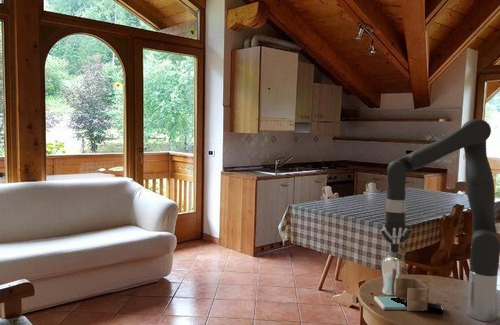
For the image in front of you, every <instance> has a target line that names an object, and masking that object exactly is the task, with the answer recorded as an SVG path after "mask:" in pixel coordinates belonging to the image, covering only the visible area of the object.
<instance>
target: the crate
mask: <svg viewBox="0 0 500 325" xmlns="http://www.w3.org/2000/svg"><path fill="white" fill-rule="evenodd" d="M429 290H430V289H429V288H428V287H426V285H424V284H423V283H422V282H420V281H419V280H418V279H416V278H414V277H404V278H403V277H398V278H396V283H395V295H394V297H397V298H400V299H405V300H407V307H406V311H407V312H425V311H426V310H427V311H428V308H429V306H428V305H429V292H430V291H429ZM424 310H425V311H424ZM427 311H426V312H427Z"/></svg>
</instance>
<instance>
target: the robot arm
mask: <svg viewBox="0 0 500 325" xmlns="http://www.w3.org/2000/svg"><path fill="white" fill-rule="evenodd" d="M491 134H492V129H491V125H490V124H489V122H487V121H486V120H483V119H481V118H474V119H469V120H468V121H466V122H465V123H464V124H463V125H462V126H461V128H459V129H458V130H456V131H455V132H453V133H452V134H449V135H448V136H446V137H443V138H441V139H438V140H436V141H434V142H431V143H428V144H427V145H426V144H425V145H423V146H422V147H420V148H418V149H416V150H414V151H412V152H410V153H409V154H406V155H404V156H402V157H399V158H397V159H395V160H393V161H391V162H390V163H389V164H388V165H387V171H386V172H387V173H386V174H387V187H386V188H387V189H386V200H385V201H386V202H385V224H384V225H383V228H382V229H379V230H378V232H379V233H380V235H381V236H382V237H383V239H385V241H386V242H388V243H389V244H390V251H391V253H393V254H397V253H398V252H399V250H400V244H401V243H405V241H406V239H407V238H408V237H409V236H410V234H411V233H412V230H410V229H409V228H407V225H406V216H407V215H406V213H407V212H406V210H407V206H406V205H407V204H406V179H407V174H409V173H411V172H413V171H414V170H419V169H421V168H423V167H426V166H428V165H430V164H433V163H434V162H437V160H440V159H442V158H443V157H445V156H447V155H448V156H449V155H450V154H452V153H455V152H456V151H459V150H461V149H463V150H464V155H465V185H466V186H465V187H466V194H467V200H468V203H469V204H468V205H469V207H470V208H469V209H470V212H471V216H472V233H471V234H472V235H471V244H470V245H471V246H470V247H471V248H470V259H469V261H470V262H469V275H468V290H467V294H468V295H467V305H466V306H467V309H466V314H467V315H468V316H469V317H470V318H473V319H475V320H477V321H483V322H493V321H495V320H497V319H498V312H499V311H498V310H499V300H500V298H499V297H500V296H499V294H498V293H497V290H498V288H497V287H498V274H499V273H498V272H499V267H500V265H499V264H500V238H499V236H498V231H497V228H496V222H495V221H496V220H495V204H496V194H495V192H496V190H495V181H494V180H495V179H494V175H493V171H492V169H491V165H490V163H489V158H488V156H487V155H488V153H487V140H488V139H489V138H490V135H491ZM387 233H388V234H389V235H388V234H387Z"/></svg>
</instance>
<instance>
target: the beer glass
mask: <svg viewBox="0 0 500 325" xmlns="http://www.w3.org/2000/svg"><path fill="white" fill-rule="evenodd" d="M381 271H382V272H381V274H382V280H383V285H382V289H381V290H382V293H383V294H385V295H389V296H395V283H396V278H399V275H400V259H399V258H396V257H394V256H393V257H392V256H385V257H383V258H382V266H381Z"/></svg>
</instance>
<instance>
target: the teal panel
mask: <svg viewBox="0 0 500 325" xmlns="http://www.w3.org/2000/svg"><path fill="white" fill-rule="evenodd" d="M391 298H397V297H395V296H374V297H373V300H374V301H375V302H376V304H378V306H379V307H380V308H381V309H382V311H384V310H401V311H402V310H404V311H405V310H406V311H407V307H406V306H405V305H404V304H401V303H397V302H395V301H393V300H391Z"/></svg>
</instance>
